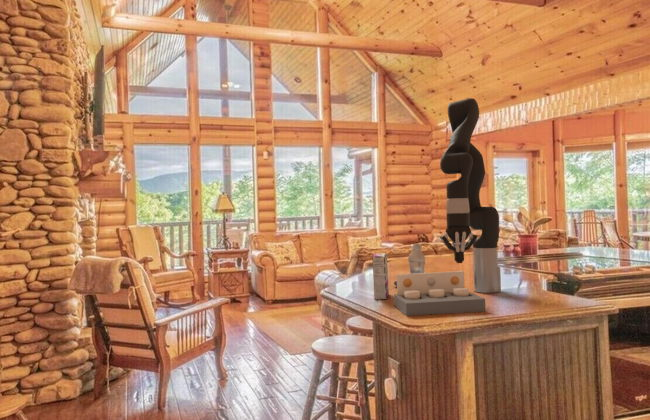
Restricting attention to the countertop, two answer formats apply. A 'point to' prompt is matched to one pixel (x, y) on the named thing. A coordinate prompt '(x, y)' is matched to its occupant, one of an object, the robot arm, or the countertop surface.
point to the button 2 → (460, 292)
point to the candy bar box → (380, 276)
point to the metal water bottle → (416, 259)
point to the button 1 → (412, 294)
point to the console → (435, 305)
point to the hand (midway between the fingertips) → (459, 262)
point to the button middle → (436, 293)
